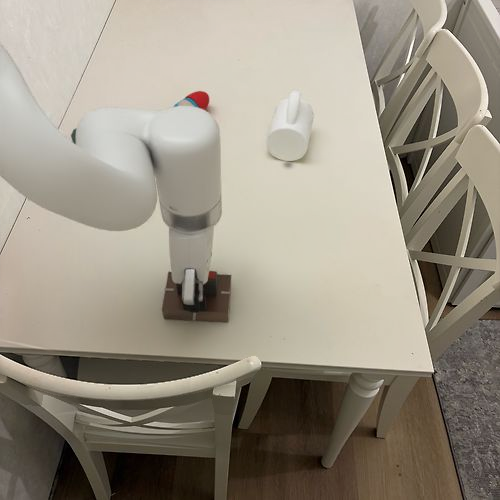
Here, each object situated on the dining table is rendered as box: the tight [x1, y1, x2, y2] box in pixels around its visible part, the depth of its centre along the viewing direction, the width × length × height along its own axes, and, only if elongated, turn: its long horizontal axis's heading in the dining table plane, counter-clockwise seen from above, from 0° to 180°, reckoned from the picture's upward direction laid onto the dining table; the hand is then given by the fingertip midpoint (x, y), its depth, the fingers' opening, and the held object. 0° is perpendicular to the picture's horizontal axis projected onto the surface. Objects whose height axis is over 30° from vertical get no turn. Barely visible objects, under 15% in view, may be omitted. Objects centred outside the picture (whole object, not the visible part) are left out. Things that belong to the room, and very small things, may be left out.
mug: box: [266, 89, 315, 162], centre depth 97 cm, size 8×10×12 cm
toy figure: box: [173, 90, 210, 111], centre depth 103 cm, size 8×5×15 cm
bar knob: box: [176, 270, 218, 297], centre depth 73 cm, size 6×2×5 cm, turn 88°
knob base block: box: [161, 271, 232, 323], centre depth 76 cm, size 10×10×3 cm
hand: (198, 281), depth 73 cm, fingers open, 9 cm apart
